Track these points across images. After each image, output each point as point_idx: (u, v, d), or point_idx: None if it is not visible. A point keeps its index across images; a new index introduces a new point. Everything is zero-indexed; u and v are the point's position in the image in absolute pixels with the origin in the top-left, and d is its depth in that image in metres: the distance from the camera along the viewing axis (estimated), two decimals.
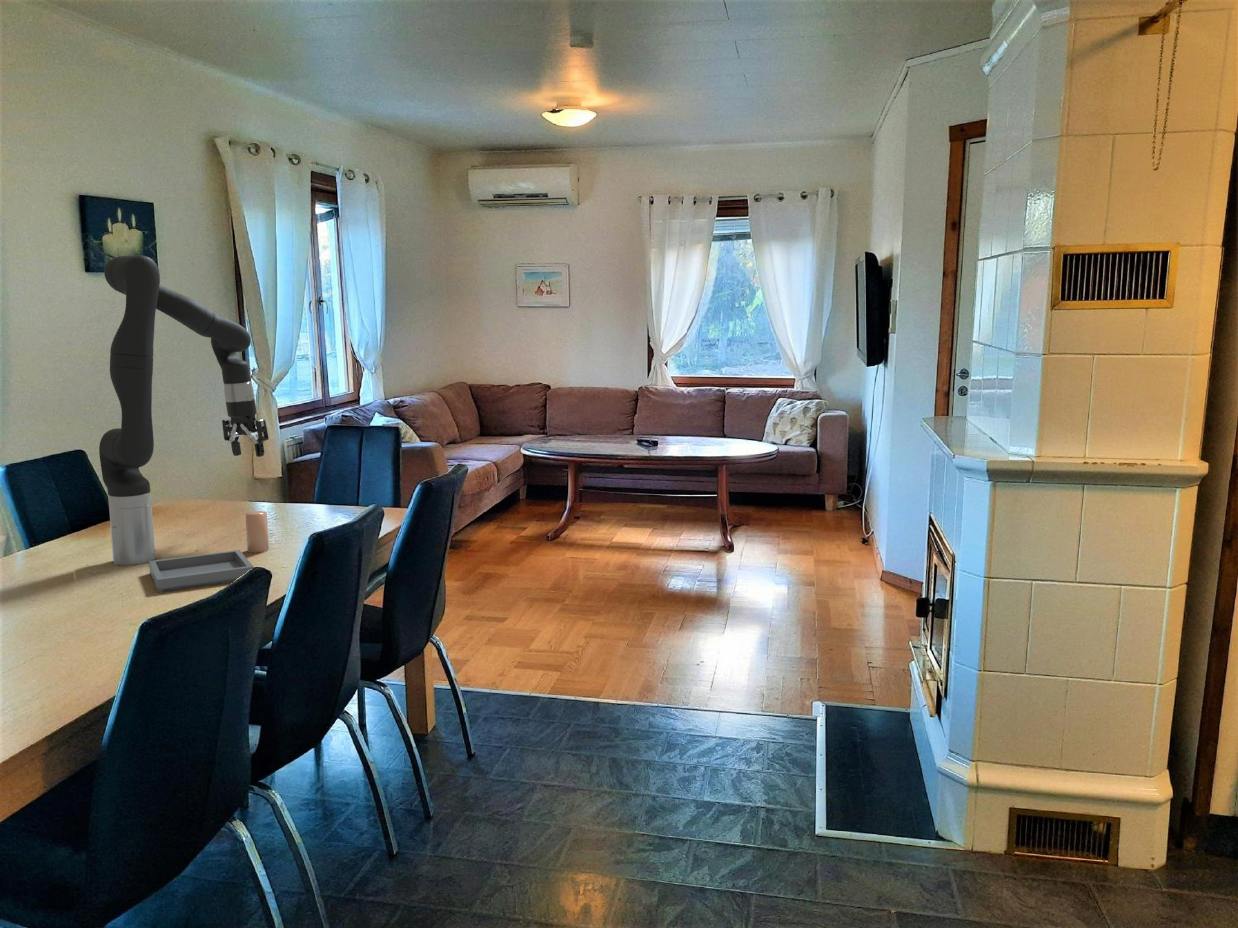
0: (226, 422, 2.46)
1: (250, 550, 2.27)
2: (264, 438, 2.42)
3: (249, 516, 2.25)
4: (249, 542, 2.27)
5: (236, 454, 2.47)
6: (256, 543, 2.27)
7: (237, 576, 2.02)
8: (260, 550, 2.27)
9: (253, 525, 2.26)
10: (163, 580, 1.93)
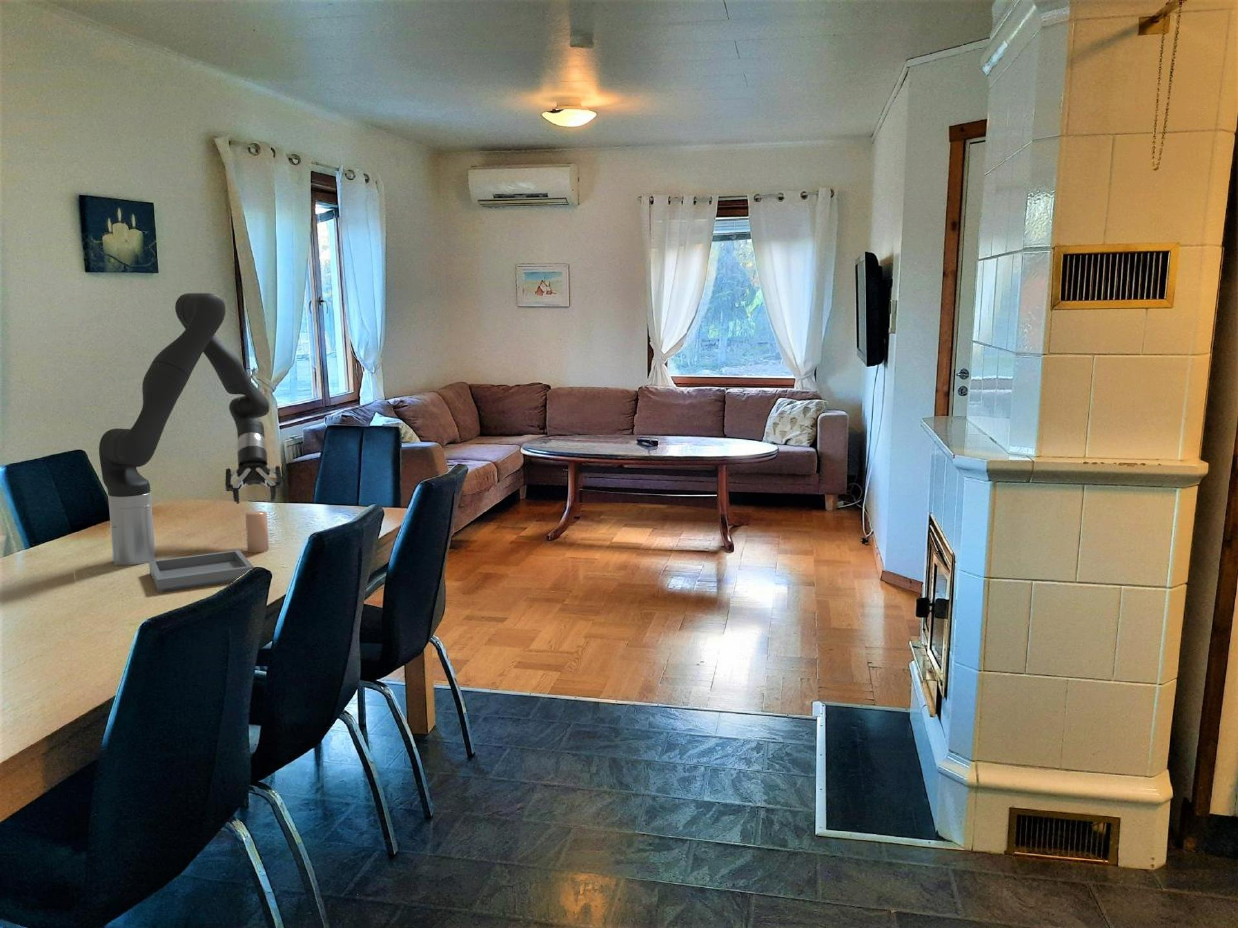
0: (230, 471, 2.37)
1: (250, 550, 2.27)
2: (281, 483, 2.40)
3: (249, 516, 2.25)
4: (249, 542, 2.27)
5: None
6: (256, 543, 2.27)
7: (237, 576, 2.02)
8: (260, 550, 2.27)
9: (253, 525, 2.26)
10: (163, 580, 1.93)
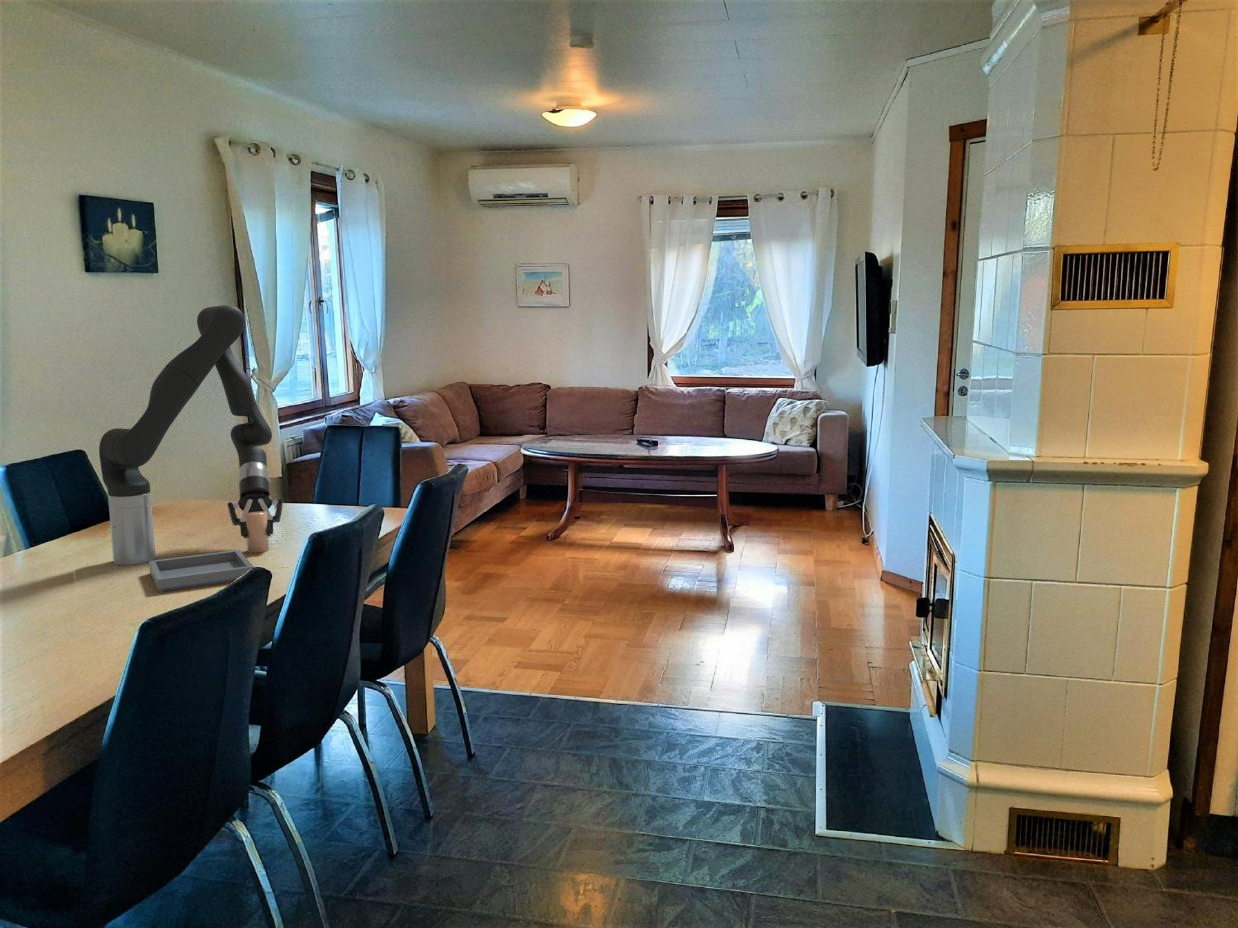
0: (232, 505, 2.29)
1: (250, 550, 2.27)
2: None
3: (249, 516, 2.25)
4: (249, 542, 2.27)
5: (246, 534, 2.26)
6: (256, 543, 2.27)
7: (237, 576, 2.02)
8: (260, 550, 2.27)
9: (253, 525, 2.26)
10: (163, 580, 1.93)
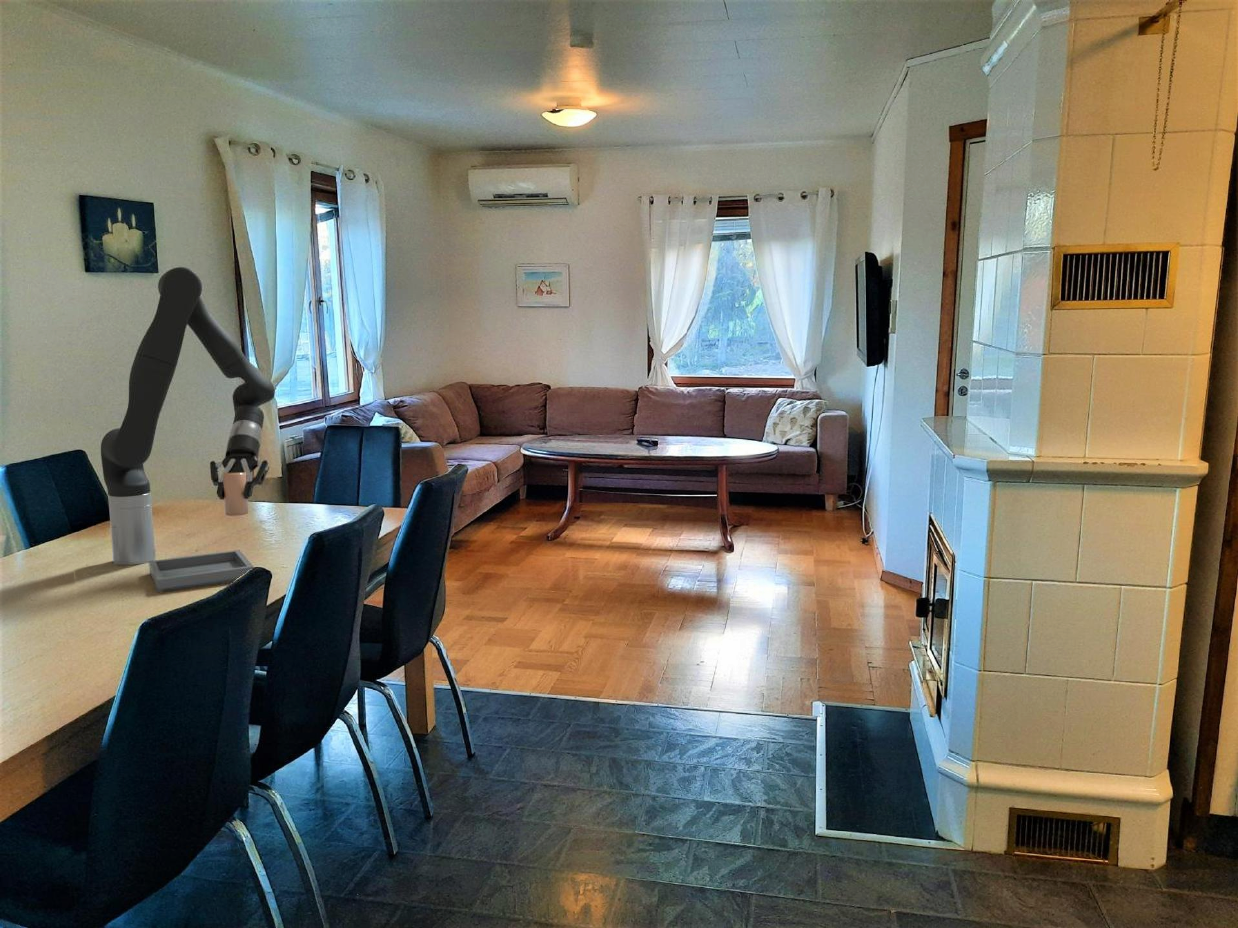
0: (215, 464, 2.16)
1: (226, 512, 2.12)
2: (260, 479, 2.16)
3: (225, 476, 2.11)
4: (225, 504, 2.12)
5: (222, 494, 2.11)
6: (231, 505, 2.12)
7: (237, 576, 2.02)
8: (236, 513, 2.12)
9: (228, 485, 2.11)
10: (163, 580, 1.93)
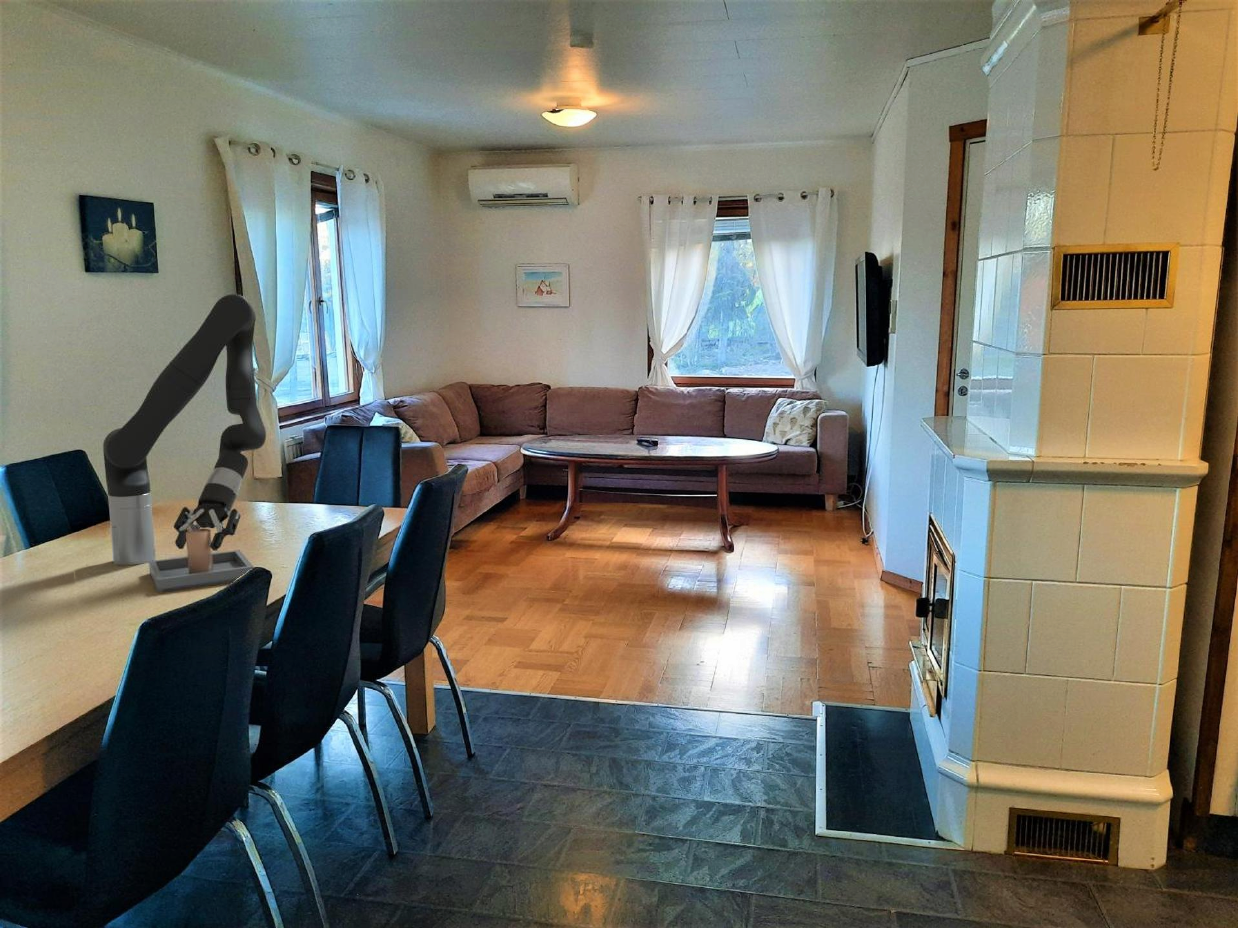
0: (187, 510, 2.09)
1: (189, 572, 2.04)
2: (231, 529, 2.05)
3: (186, 534, 2.03)
4: (188, 563, 2.04)
5: (179, 544, 2.04)
6: (192, 565, 2.03)
7: (237, 576, 2.02)
8: None
9: (189, 544, 2.02)
10: (163, 580, 1.93)
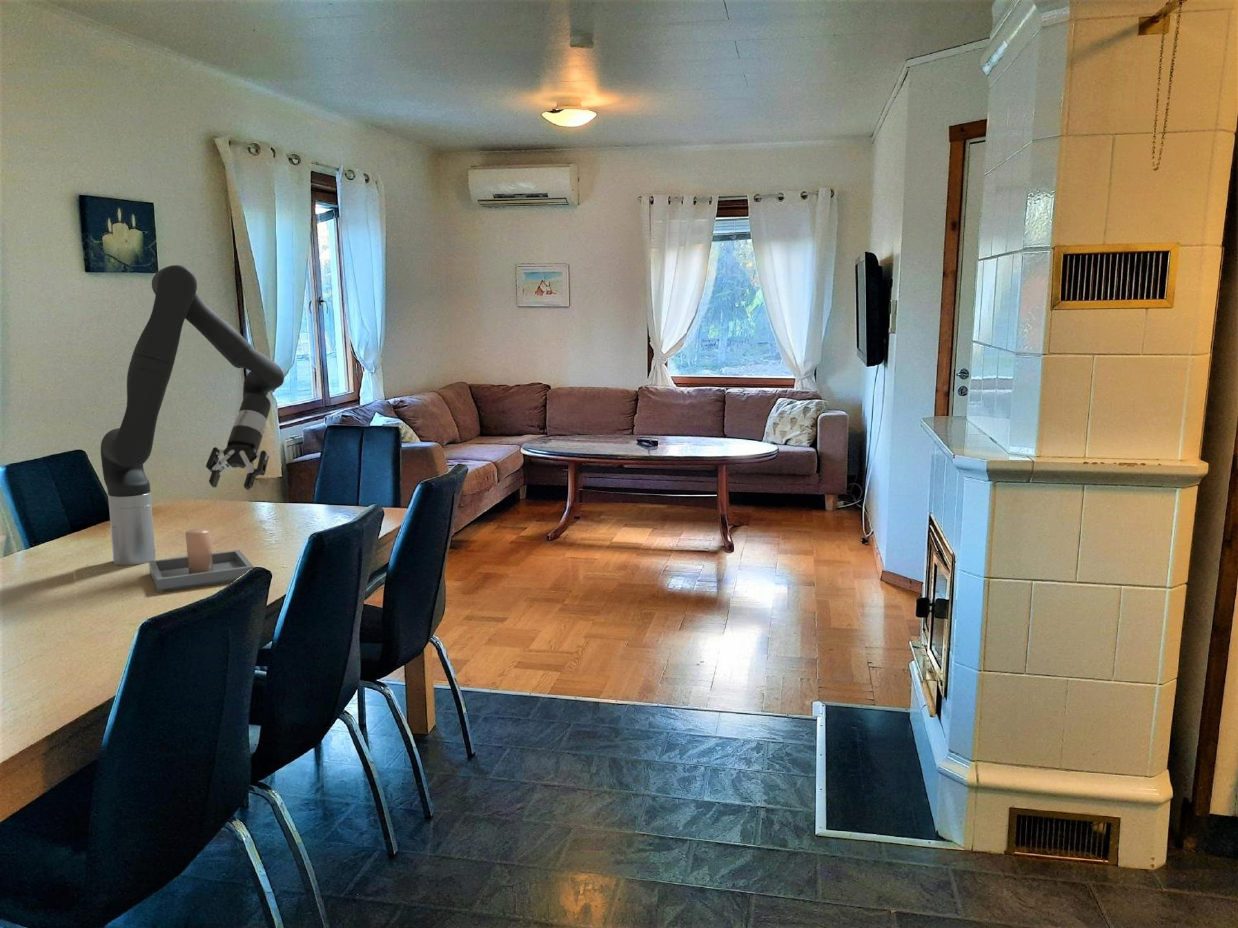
0: (217, 451, 2.23)
1: (189, 572, 2.04)
2: (262, 470, 2.21)
3: (186, 534, 2.03)
4: (188, 563, 2.04)
5: (213, 483, 2.18)
6: (192, 565, 2.03)
7: (237, 576, 2.02)
8: None
9: (188, 544, 2.02)
10: (163, 580, 1.93)
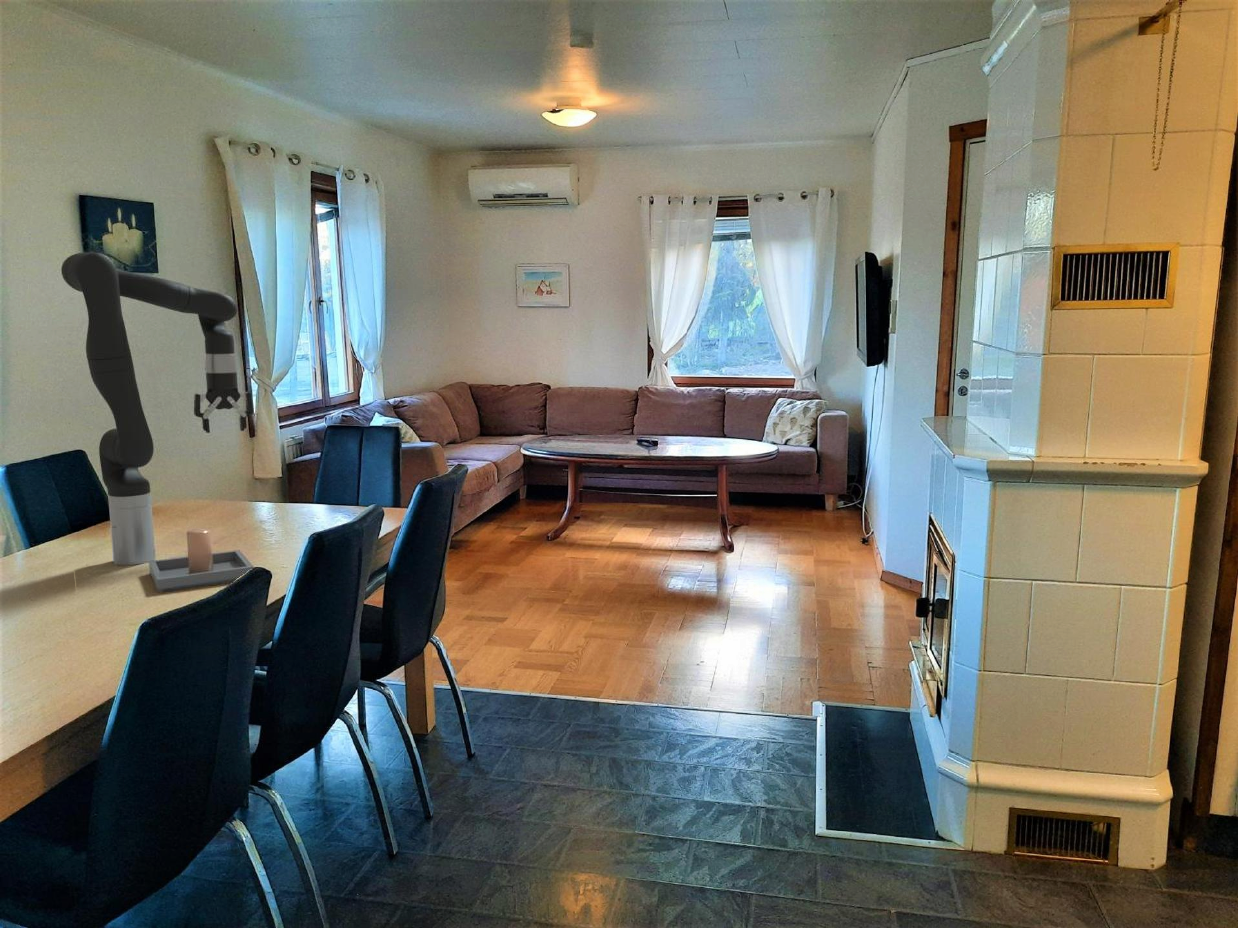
0: (200, 397, 2.29)
1: (189, 571, 2.04)
2: None
3: (187, 534, 2.03)
4: (188, 562, 2.04)
5: None
6: (192, 564, 2.03)
7: (237, 576, 2.02)
8: None
9: (189, 544, 2.03)
10: (163, 580, 1.93)
